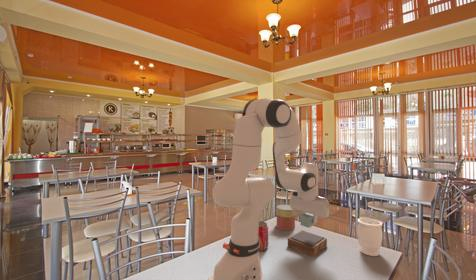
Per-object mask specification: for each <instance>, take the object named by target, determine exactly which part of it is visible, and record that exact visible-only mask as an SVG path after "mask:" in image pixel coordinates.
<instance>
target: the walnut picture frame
mask: <svg viewBox="0 0 476 280" xmlns="http://www.w3.org/2000/svg"><path fill="white" fill-rule="evenodd" d="M327 243H328V240H327V238H326V237H324V236H321V235H317V234H314V233H311V232H308V231H305V230H303V229H302V230H300V231H298V232H296V233H294V234H293V235H291V236H290V237H288V238H287V247H289V248H292V249H294V250H296V251H299V252H301V253H304V254H306V255H308V256H309V255H310V256H312V257H315V256H317V254H319V253H320V252H321V251H323V250H324V249H325V248H326V247H327V246H328V245H327Z"/></svg>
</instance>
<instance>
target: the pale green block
mask: <svg viewBox="0 0 476 280" xmlns="http://www.w3.org/2000/svg"><path fill="white" fill-rule="evenodd" d="M314 218H315V217H314V215H313V214H309V213H306V212H304V213H303V214H302V215H301V216H300V226H302V227H304V228H308V229H309V228H311V227H312V226H315V225H316V224H317V222H316V223H315V224H314V223H312V219H314Z"/></svg>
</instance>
